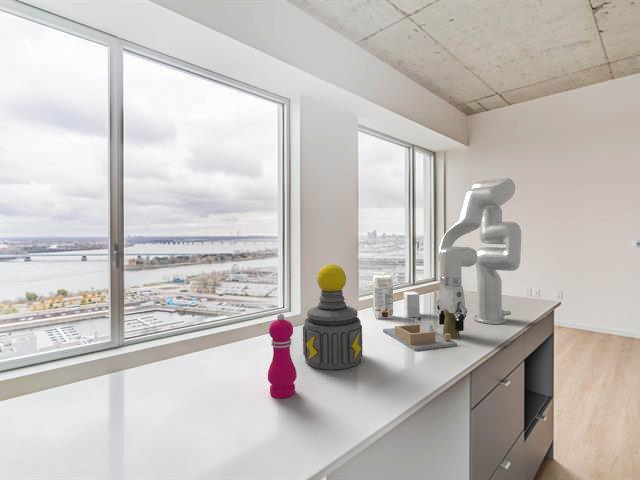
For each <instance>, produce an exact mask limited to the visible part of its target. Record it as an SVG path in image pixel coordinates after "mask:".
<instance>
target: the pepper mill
mask: <svg viewBox="0 0 640 480" xmlns="http://www.w3.org/2000/svg"><path fill="white" fill-rule="evenodd" d="M268 327H269V328H268V334H269V336H270V337H271V340H270V342H271V345H270V346H272V349H273V350H272V351H273V352H272V358H271V359H272V360H271V362H270V365H269V368H268V372H267V381H268V383H269V384H270V386H269V394H270V396H271V397H273V398H276V399H287V398H289V397H292V396H294V394H295V393H296V384H295V381H296V380H297V369H296V367H295V365H294V362H293V359H292V356H291V350H290V349H291V345H292V338H291V337H292V335H293V333H294V326H293V324H292V323H291V321H290V320H287V319H285V314H284V313H278V314H277V317H276V320H274V321H273V322H271V324H270V325H269V326H268Z"/></svg>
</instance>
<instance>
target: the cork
mask: <svg viewBox="0 0 640 480" xmlns="http://www.w3.org/2000/svg"><path fill="white" fill-rule="evenodd" d="M456 312H458V311H456ZM444 315H445V321H444V324H443V329H442V330H443V331H442V336H443V337H444V334H447V333H449V334H451V340H457V339H460V338H461V336H460V331H455V320H456V318H455V315H454V314H451V313H449V311H448V310H447V309H444Z"/></svg>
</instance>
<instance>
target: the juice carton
mask: <svg viewBox="0 0 640 480" xmlns="http://www.w3.org/2000/svg"><path fill="white" fill-rule="evenodd" d="M372 305H373V307H372V311H373V315H374V317H375V318H376V320H392V319H393V315H394V283H393V278H392V276H391V275H389V274H387V275H373V279H372Z"/></svg>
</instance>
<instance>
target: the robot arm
mask: <svg viewBox="0 0 640 480" xmlns="http://www.w3.org/2000/svg"><path fill="white" fill-rule="evenodd" d="M515 192H516V184H515V181H513V179H511V178H506V177H505V178H496V179H487V180H480V181H476V182H474V183H473V184H472V185H471V186H470V188H469V189H468V190H467V191H465V194H464V196H463V199H462V203H461V208H460V212H459V215H458V219H457V221H456V222H455V223H454V224H453V225H452V226H451V227H449V228H448V229H447V230H446V232H445V233H444V235H443V236H442V238H441V239H440V240H441V242H440V245H439V248H438V253H437V258H438V261H439V290H438V291H439V293H438V299H437V300H436V301H435V303H436V306H437V307H436V308H437V310H438V311H437V313H438V322H439V323H438V324H439V325H443V326H444V321H445V315H444V309H447V310H448V311H449V313H451V314H454V315H455V318H456V320H455V331H459V332H463V331H464V330H465V327H464V326H465V325H464V323H465V322H464V321H465V319H466V317H467V314H468V311H469V310H468V309H467V308H466V301H465V300H466V299H465V293H464V288H463V286H462V284H463V283H462V281H463V280H462V278H463V277H462V267H463V268H469V267H473V266H475V267H476V279H477V281H476V282H477V283H476V289H477V290H476V293H477V295H476V296H477V298H476V299H477V302H476V303H477V305H476V306H477V307H476V308H477V309H476V310H477V313H476V314H477V315H474V316H473V320H474V321H475V322H478V323H481V324H489V325H502V324H505V323H507V319H506V318H505V316H511V314H512V312H511V311H510V310H503V307H502V306H503V304H502V302H503V299H502V298H503V296H502V293H503V291H502V290H503V289H502V288H503V287H502V285H503V283H502V282H503V281H502V278H501V276H500V274H499V273H498V272H497V271H504V272H505V271H506V272H507V271H509V272H514V271H517V270H518V269H519V267H520V264H521V256H522V253H521V252H522V251H521V250H522V230H521V226H520V224H519V223H518V222H515V221H503V209H502V206H503V205H504V204H506V203H507V202H508V201H510V200H511V199H513V197H514V195H515ZM478 229H479V239H480V241H481V243H484V244H487V245H505V246H506V247H496V246H495V247H494V246H493V247H492V246H491V247H489V246H487V247H486V246H485V247H480V248H478V249H476V250H475V249H474V248H473V247H469V246H453V245H454V243H455V242H456V241H457V240H458V239H460V238H461V237H463V236H465V235H467V234H470V233H471V232H474V231H476V230H478ZM456 311H458V312H456Z"/></svg>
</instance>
